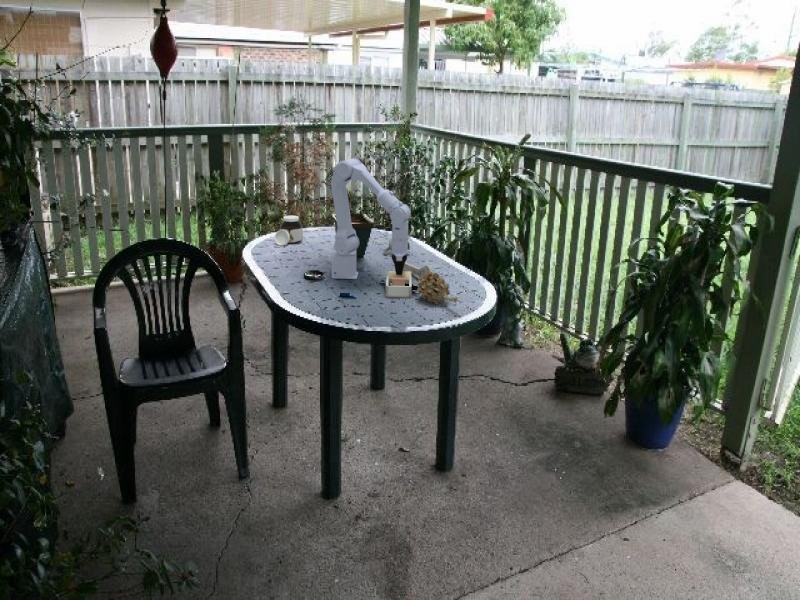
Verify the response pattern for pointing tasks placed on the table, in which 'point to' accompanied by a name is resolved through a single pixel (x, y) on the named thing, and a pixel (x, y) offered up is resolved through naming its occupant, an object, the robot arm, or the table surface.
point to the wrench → (418, 269)
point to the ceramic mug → (391, 248)
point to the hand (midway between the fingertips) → (399, 274)
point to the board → (404, 274)
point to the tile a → (398, 281)
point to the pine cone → (434, 288)
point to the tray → (398, 289)
